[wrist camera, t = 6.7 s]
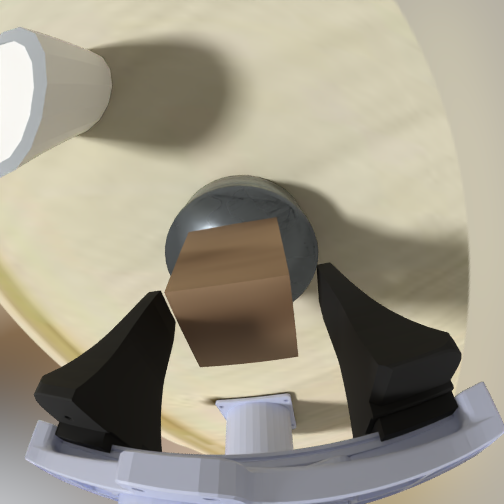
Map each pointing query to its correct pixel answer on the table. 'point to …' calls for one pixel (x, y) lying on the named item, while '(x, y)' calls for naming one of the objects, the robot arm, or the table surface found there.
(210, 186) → the tin
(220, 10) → the table surface
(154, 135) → the table surface
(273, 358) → the walnut block
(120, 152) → the table surface
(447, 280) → the table surface
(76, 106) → the grey and white cylinder
